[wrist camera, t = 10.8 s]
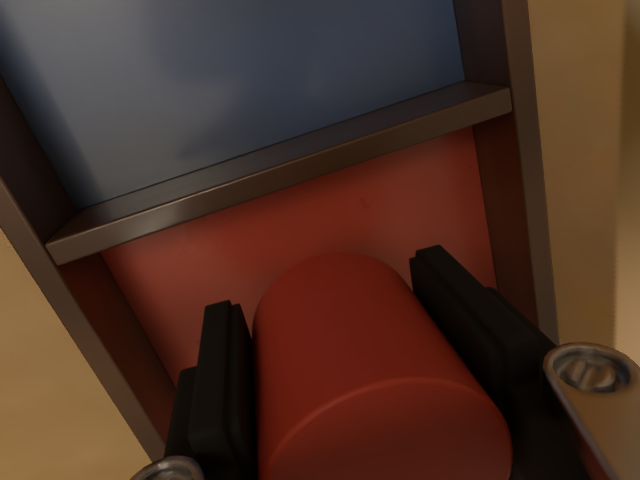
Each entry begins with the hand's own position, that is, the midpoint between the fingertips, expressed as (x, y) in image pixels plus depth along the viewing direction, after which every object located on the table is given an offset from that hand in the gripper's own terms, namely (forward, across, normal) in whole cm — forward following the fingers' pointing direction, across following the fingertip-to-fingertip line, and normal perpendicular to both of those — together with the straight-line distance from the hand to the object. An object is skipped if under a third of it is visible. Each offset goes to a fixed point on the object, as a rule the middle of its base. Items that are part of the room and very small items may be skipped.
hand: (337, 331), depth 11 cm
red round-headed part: (0, 0, +3) cm, 3 cm away
